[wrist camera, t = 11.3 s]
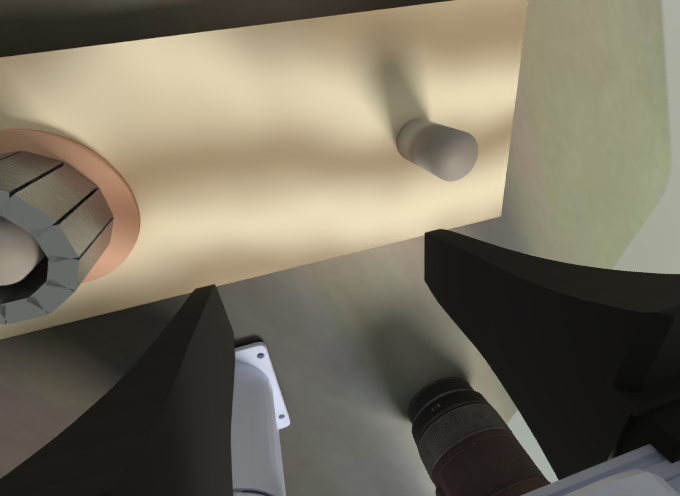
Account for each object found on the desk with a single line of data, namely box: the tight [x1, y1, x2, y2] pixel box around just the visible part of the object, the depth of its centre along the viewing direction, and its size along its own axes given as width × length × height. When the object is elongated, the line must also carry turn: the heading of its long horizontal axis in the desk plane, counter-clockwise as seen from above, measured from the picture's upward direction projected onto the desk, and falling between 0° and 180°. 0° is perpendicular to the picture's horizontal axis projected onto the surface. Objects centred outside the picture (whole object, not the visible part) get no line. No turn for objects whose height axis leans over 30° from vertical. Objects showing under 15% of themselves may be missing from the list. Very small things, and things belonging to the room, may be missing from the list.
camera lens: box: [409, 378, 551, 496], centre depth 27 cm, size 8×8×15 cm
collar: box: [0, 151, 114, 325], centre depth 13 cm, size 5×5×4 cm
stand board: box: [0, 0, 528, 339], centre depth 16 cm, size 12×30×6 cm, turn 97°
